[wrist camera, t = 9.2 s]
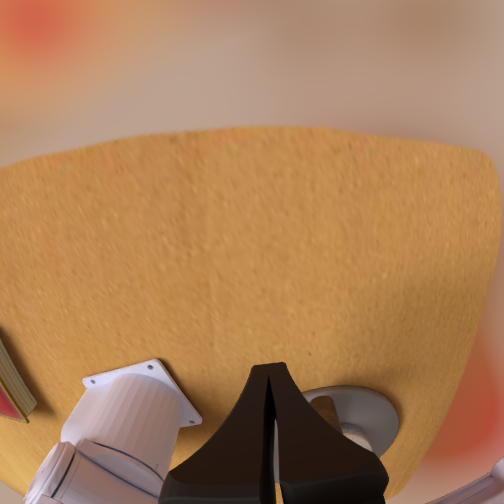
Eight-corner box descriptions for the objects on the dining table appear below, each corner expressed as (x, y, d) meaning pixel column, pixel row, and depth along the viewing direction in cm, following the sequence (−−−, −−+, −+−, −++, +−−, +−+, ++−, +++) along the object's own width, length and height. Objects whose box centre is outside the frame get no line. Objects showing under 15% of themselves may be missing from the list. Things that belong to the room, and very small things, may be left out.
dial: (365, 462, 25) (378, 506, 19) (284, 478, 26) (288, 526, 19) (371, 369, 21) (399, 426, 15) (259, 393, 22) (260, 458, 15)
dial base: (275, 488, 28) (275, 496, 27) (214, 417, 24) (212, 427, 23) (400, 447, 27) (403, 455, 25) (385, 359, 23) (390, 368, 21)
